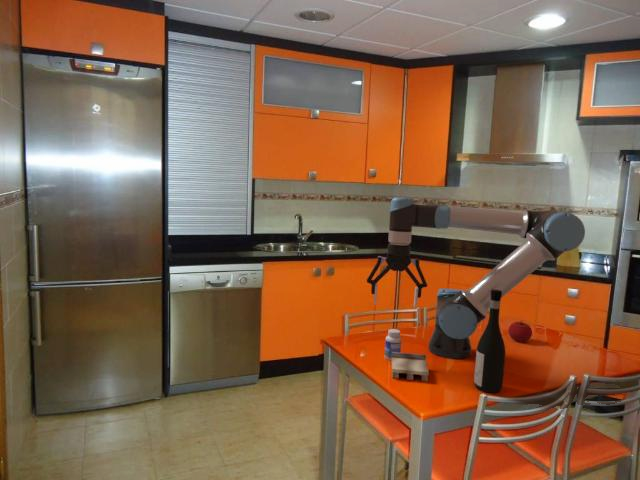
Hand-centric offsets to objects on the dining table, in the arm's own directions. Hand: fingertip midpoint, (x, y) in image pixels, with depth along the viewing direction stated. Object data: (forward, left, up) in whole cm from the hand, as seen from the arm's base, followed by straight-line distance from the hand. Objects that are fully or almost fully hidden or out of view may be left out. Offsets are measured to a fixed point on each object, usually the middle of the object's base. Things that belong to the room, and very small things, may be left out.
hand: (395, 305), depth 159 cm
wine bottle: (-28, +18, -19) cm, 38 cm away
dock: (-5, +12, -19) cm, 23 cm away
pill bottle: (0, 0, -19) cm, 19 cm away
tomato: (-51, -32, -19) cm, 63 cm away
